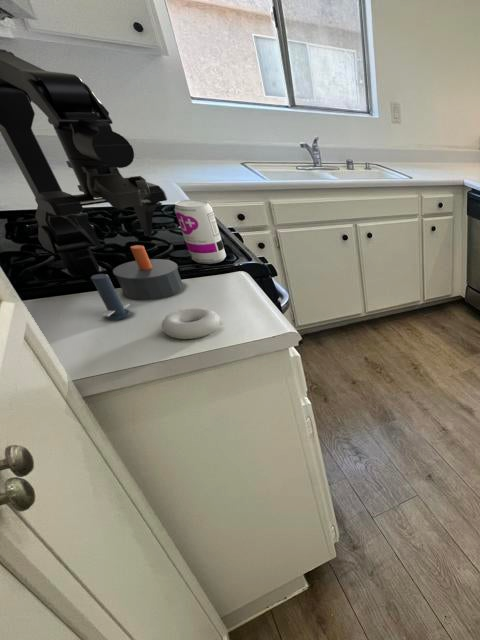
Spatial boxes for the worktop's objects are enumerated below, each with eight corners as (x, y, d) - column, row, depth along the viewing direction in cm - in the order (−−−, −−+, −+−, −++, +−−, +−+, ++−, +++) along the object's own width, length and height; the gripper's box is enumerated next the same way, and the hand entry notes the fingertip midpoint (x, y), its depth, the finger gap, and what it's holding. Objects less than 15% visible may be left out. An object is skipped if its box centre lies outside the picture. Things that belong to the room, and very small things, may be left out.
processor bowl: (114, 290, 96) (104, 269, 93) (166, 276, 105) (159, 257, 102) (141, 304, 93) (132, 284, 90) (193, 289, 101) (186, 270, 98)
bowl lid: (103, 272, 94) (90, 245, 90) (161, 259, 102) (151, 235, 99) (132, 287, 90) (120, 260, 86) (189, 272, 98) (180, 247, 95)
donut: (153, 336, 84) (196, 346, 83) (145, 321, 82) (190, 331, 81) (193, 316, 92) (233, 324, 91) (187, 301, 90) (228, 309, 89)
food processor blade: (119, 324, 85) (98, 283, 80) (98, 323, 85) (76, 282, 80) (139, 309, 91) (121, 270, 86) (119, 308, 90) (100, 269, 85)
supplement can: (208, 266, 112) (189, 209, 103) (184, 260, 114) (164, 202, 105) (233, 258, 118) (218, 203, 109) (211, 251, 120) (193, 197, 111)
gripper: (49, 170, 67) (95, 263, 76) (170, 161, 81) (196, 240, 90) (11, 157, 70) (59, 248, 79) (134, 150, 84) (163, 228, 93)
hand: (124, 241), depth 85 cm, fingers open, 9 cm apart
